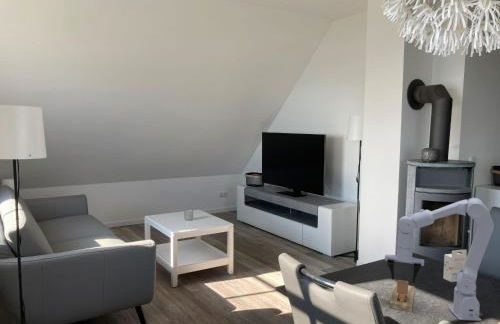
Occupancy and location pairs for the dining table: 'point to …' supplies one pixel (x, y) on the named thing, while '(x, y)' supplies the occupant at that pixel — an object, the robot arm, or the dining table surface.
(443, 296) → the dining table surface
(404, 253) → the robot arm
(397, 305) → the rail
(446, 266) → the ink cartridge box
